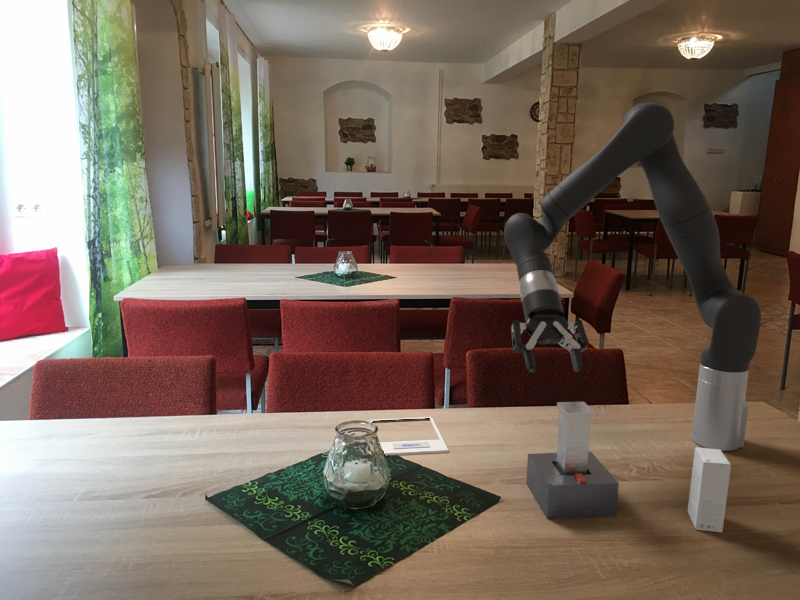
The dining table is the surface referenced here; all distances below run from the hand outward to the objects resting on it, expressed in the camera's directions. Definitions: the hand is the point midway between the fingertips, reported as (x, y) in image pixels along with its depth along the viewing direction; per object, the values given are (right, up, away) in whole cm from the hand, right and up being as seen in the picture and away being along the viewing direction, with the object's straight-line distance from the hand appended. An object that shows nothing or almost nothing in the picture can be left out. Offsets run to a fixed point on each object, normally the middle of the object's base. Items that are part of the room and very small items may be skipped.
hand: (555, 370), depth 119 cm
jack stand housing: (+1, -22, -6) cm, 23 cm away
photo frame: (-28, -17, +20) cm, 38 cm away
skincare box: (+22, -24, -13) cm, 35 cm away
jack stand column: (+1, -22, -6) cm, 23 cm away
